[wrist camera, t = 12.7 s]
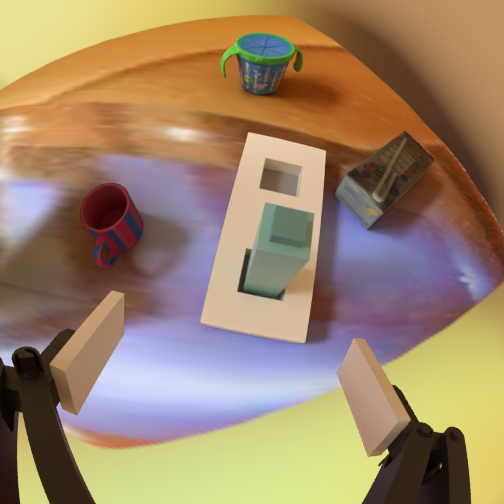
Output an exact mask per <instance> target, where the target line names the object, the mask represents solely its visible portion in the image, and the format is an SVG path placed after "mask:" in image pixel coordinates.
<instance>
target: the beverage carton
mask: <svg viewBox="0 0 504 504" xmlns="http://www.w3.org/2000/svg"><path fill="white" fill-rule="evenodd" d="M433 162H434V158H433V157H431V156H430V155H429V154H428V153H427V152H426V151H425V150H424V149H423V148H422V146H421V145H420V144H419V143H417V142H416V141H415V140H414V139H413V138H412V137H411V136H410V135H409V134H408V133H407V132H406V131H404V132H403V133H402V134H400V135H398V136H397V137H395V138H394V139H393V140H391V141H390V142H388V143H387V144H386V145H384V146H383V147H382V148H380V149H379V150H378V151H376V152H375V153H374V154H372V155H371V156H370V157H368V158H367V159H366V160H364V161H363V162H362V163H360V164H359V165H358V166H357V167H356V168H354V169H352V170H351V171H350V172H348V173H347V174H346V175H345V177H344V178H343V180H342V181H341V183H340V184H339V186H338V188H337V190H336V193H335V197H336V198H337V199H338V200H339V201H340V202H341V203H342V204H343V205H344V206H345V207H346V208H347V209H348V210H349V211H350V212H351V213H352V215H353V216H354V217H355V218H356V219H357V220H358V221H359V222H360V224H361V225H362V226H363V227H364V228H365V229H366V230H368V229H369V228H370V227H371V226H372V225H373V224H374V223H375V222H376V221H378V220H379V218H380V217H381V216H382V215H383V214H384V213H385V212H386V211H387V210H388V209H389V208H390V207H392V206H393V205H394V204H395V203H396V202H397V201H398V200H399V199H400V198H401V197H402V196H403V195H404V194H405V193H406V192H407V191H408V190H409V189H410V188H411V187H412V186H413V185H414V184H415V183H416V182H417V181H418V180H419V179H420V177H421V176H422V175H423V174H424V173H425V172H426V171H427V170H428V168H429V167H430V166H431V164H432V163H433Z"/></svg>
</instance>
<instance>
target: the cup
mask: <svg viewBox="0 0 504 504" xmlns="http://www.w3.org/2000/svg"><path fill="white" fill-rule="evenodd" d="M80 217H81V221H82V224H83V225H84V227H85V228H86V229H87V230H88V231H89V232H90V233H91V234H92V235H93V236H94V237H95V238H96V239H97V240H96V243H95V248H94V258H95V261H96V263H97V265H98V266H99V267H100V268H102V269H110V268H111V267H112V265H113V264H114V261H115V259H116V256H117V253H119V252H124V251H127V250H129V249H131V248H132V247H133V246H134V245H135V244H136V243H137V242H138V241H139V239H140V237H141V235H142V232H143V222H142V219H141V217H140V215H139V213H138V211H137V209H136V207H135V205H134V203H133V201H132V199H131V198H130V196H129V194H128V192H127V190H126V189H125V188H124V187H123V186H121V185H119V184H116V183H106V184H102V185H100V186H98V187H96V188H95V189H93V190H92V191H91V192H90V193H89V194H88V195H87V196H86V198H85V199H84V201H83V203H82V206H81V210H80ZM103 246H104V247H105V248H106V249H107V250H109V251H110V253H109V258H108V261H107V263H106V264H105V263H104V262H103V259H102V247H103Z"/></svg>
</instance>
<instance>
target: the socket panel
mask: <svg viewBox="0 0 504 504" xmlns="http://www.w3.org/2000/svg"><path fill="white" fill-rule="evenodd" d="M325 156H326V151H325V150H321V149H317V148H314V147H310V146H306V145H302V144H298V143H294V142H290V141H286V140H282V139H277V138H273V137H268V136H263V135H259V134H254V133H248V137H247V140H246V144H245V147H244V151H243V154H242V158H241V161H240V165H239V168H238V172H237V176H236V179H235V183H234V187H233V190H232V194H231V198H230V202H229V205H228V209H227V213H226V217H225V221H224V225H223V229H222V232H221V236H220V240H219V244H218V248H217V252H216V256H215V260H214V265H213V269H212V273H211V277H210V281H209V285H208V290H207V294H206V298H205V302H204V307H203V311H202V315H201V320H200V323H201V324H202V325H204V326H209V327H213V328H218V329H222V330H227V331H231V332H236V333H241V334H246V335H251V336H257V337H262V338H267V339H273V340H279V341H284V342H290V343H297V344H300V343H305V341H306V335H307V328H308V322H309V315H310V308H311V301H312V294H313V286H314V279H315V271H316V262H317V253H318V244H319V234H320V224H321V213H322V201H323V188H324V173H325ZM265 202H267V203H271V204H276V205H281V206H285V207H290V208H294V209H299V210H303V211H307V212H312V213H314V222H313V232H312V242H311V251H310V260H309V261H308V262H307V263H306V264H305V266H304V267H303V268H302V269H301V270H300V271H299V272H298V273H297V275H296V276H295V277H294V278H293V279H292V280H291V281H290V282H289V283H288V284H287V286H286V287H285V288H284V289H283V290H282V291H281V292H280V293H279V294H278V295H277V296H276V297H275V298H269V297H264V296H259V295H254V294H249V293H244V292H243V287H244V282H245V277H246V272H247V266H248V261H249V258H250V254H251V251H252V247H253V244H254V240H255V237H256V233H257V230H258V226H259V223H260V219H261V216H262V212H263V208H264V205H265Z"/></svg>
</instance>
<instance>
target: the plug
mask: <svg viewBox="0 0 504 504" xmlns="http://www.w3.org/2000/svg"><path fill="white" fill-rule="evenodd" d="M313 222H314V213H312V212H307V211H303V210H299V209H294V208H290V207H285V206H281V205H276V204H271V203H267V202H265V205H264V208H263V212H262V216H261V219H260V223H259V226H258V230H257V233H256V237H255V240H254V244H253V247H252V251H251V254H250V258H249V261H248V266H247V272H246V277H245V282H244V287H243V292H244V293H249V294H254V295H259V296H264V297H269V298H275V297H276V296H277V295H278V294H279V293H280V292H281V291H282V290H283V289H284V288H285V287H286V286H287V284H288V283H289V282H290V281H291V280H292V279H293V278H294V277H295V276H296V275H297V273H298V272H299V271H300V270H301V269H302V268H303V267H304V266H305V264H306V263H307V262H308V261H309V260H310V251H311V242H312V232H313Z"/></svg>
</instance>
